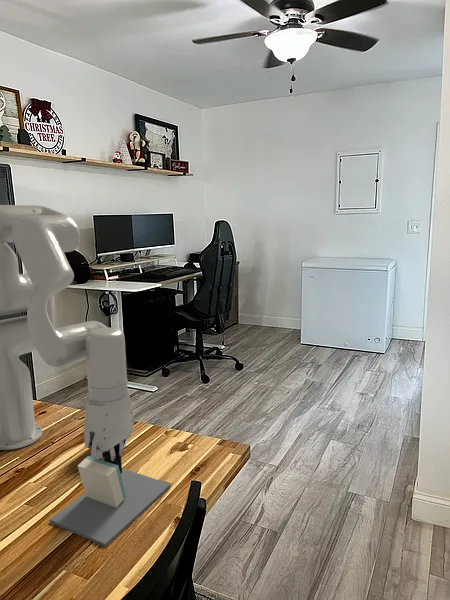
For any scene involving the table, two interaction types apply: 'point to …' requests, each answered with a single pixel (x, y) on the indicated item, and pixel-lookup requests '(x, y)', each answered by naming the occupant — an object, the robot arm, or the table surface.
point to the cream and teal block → (102, 481)
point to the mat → (110, 509)
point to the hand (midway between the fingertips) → (113, 473)
